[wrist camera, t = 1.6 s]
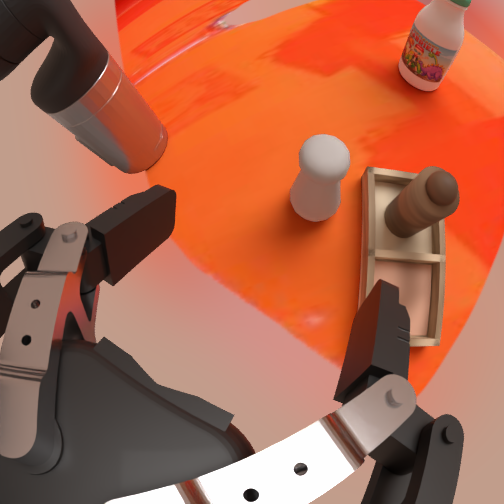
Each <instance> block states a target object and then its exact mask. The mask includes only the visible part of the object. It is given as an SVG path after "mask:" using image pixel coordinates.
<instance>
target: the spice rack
mask: <svg viewBox="0 0 504 504" xmlns="http://www.w3.org/2000/svg"><path fill="white" fill-rule="evenodd" d="M417 175H418V174H415V173H409V172H403V171H396V170H390V169H382V168H375V167H367V168H366V170H365V172H364V174H363V175H362V177H361V178H362V249H361V272H360V288H359V301H358V310H359V308H360V306H361V305H362V303H363V302H364V300H365V299H366V297H367V296H368V294H369V293H370V291H371V290H372V288H373V287H374V285H375V284H376V282H377V281H378V280H379V279H382V280H384V281H386V282H388V283H391V284H393V285H395V286H397V287H399V304H401V305H404V306H406V309H407V312H408V314H409V317H410V342H409V344H410V346H439V345H440V337H441V329H442V319H443V308H444V293H445V224H444V219H442V220H440V221H439V222H437V223H435V224H433V225H431V226H429V227H428V228H426V229H424V230H422V231H420V232H418V233H416V234H415V235H413V236H411V237H408V238H400V237H397V236H395V235H394V234H392V233H391V232H390V230H389V229H388V227H387V225H386V223H385V218H384V214H385V210H386V207H387V206H388V205H389V203H390V202H391V201H392V200H393V199H394V198H395V197H396V196H397V195H398V194H399V193H400V192H401V191H402V190H403V189H404V188H405V187H406V186H407V185H408V184H409V183H410V182H411V181H412V180H413V179H414V178H415V177H416V176H417Z"/></svg>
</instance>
